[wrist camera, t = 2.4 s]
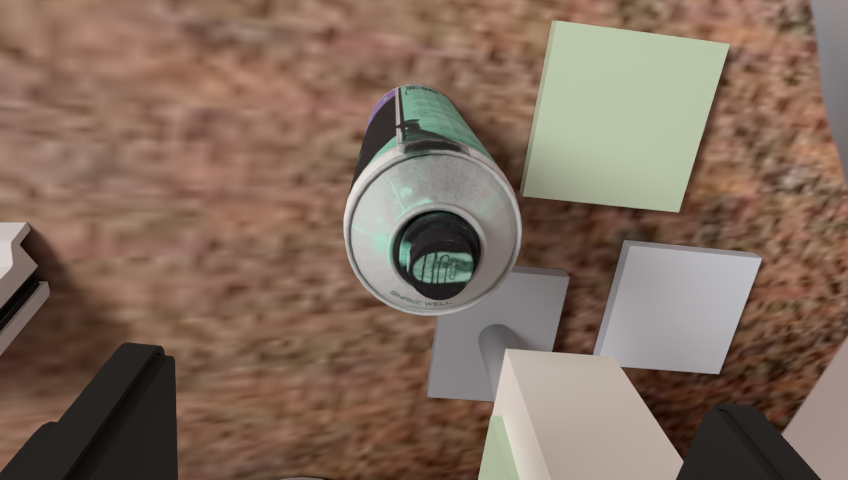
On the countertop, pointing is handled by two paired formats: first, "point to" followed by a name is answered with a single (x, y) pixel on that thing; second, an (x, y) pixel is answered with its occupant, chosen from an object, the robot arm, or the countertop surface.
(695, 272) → the grey square tile
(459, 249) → the spray can
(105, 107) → the countertop surface
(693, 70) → the green tile
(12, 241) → the white bevelled plastic case
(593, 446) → the mounted unit
